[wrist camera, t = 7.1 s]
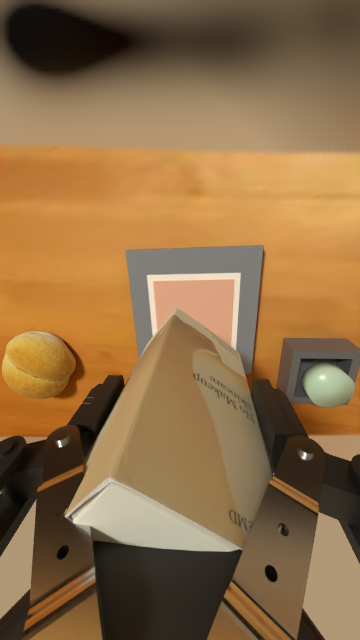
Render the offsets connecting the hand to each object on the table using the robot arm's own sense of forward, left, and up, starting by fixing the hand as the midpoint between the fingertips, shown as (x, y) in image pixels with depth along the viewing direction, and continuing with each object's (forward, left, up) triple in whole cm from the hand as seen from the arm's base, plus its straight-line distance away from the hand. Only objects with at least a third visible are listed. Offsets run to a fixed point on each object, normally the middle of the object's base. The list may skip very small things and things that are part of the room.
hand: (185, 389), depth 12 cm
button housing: (-13, +6, -12) cm, 19 cm away
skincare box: (0, 0, -5) cm, 5 cm away
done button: (-13, +6, -10) cm, 17 cm away
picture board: (0, 0, -12) cm, 12 cm away
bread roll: (+19, +6, -13) cm, 24 cm away
